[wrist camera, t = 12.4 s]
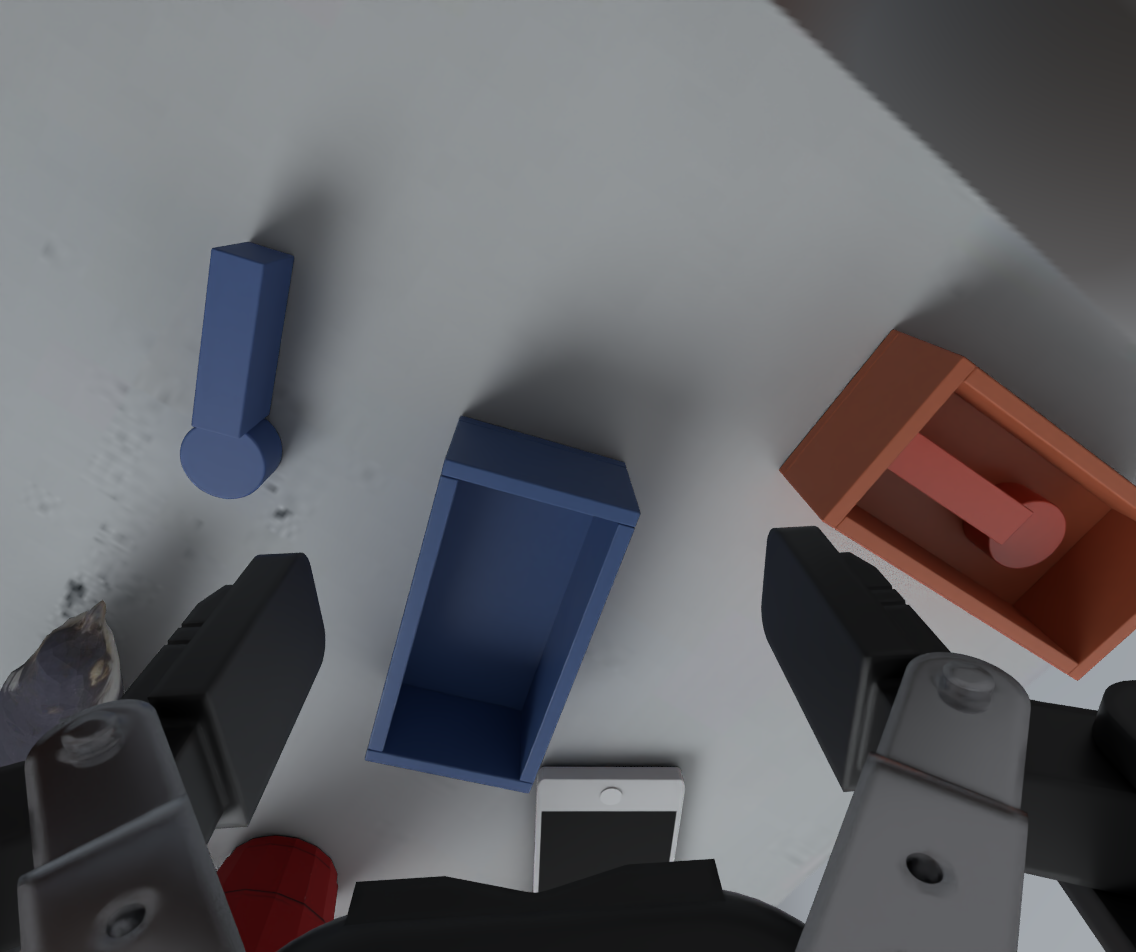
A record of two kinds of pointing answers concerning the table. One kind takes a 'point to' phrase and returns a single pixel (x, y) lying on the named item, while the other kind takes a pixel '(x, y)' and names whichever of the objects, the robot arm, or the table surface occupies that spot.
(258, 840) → the plastic cup
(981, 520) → the red spoon
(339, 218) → the table surface
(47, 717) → the bird model
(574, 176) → the table surface
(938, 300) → the table surface
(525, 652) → the blue bin
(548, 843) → the smartphone
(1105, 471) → the orange bin
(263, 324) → the blue spoon
